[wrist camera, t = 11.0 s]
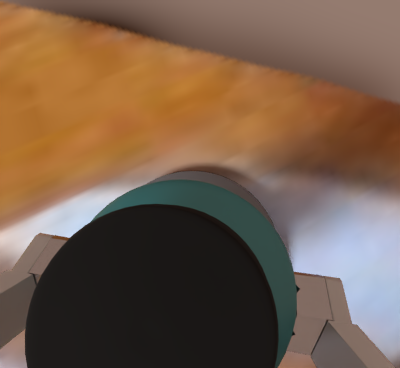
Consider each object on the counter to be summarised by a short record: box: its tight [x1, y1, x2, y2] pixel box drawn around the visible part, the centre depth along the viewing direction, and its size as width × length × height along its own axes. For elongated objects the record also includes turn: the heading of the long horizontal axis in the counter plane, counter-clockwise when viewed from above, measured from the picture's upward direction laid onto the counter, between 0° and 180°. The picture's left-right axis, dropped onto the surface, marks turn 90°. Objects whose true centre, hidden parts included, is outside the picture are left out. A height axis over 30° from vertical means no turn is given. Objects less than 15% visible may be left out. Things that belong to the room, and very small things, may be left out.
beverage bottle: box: [25, 179, 297, 368], centre depth 15 cm, size 6×7×20 cm
